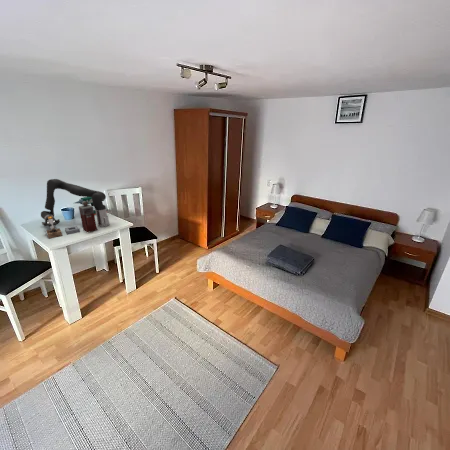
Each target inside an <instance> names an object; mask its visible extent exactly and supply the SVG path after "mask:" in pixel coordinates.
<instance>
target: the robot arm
mask: <svg viewBox="0 0 450 450" xmlns="http://www.w3.org/2000/svg"><path fill="white" fill-rule="evenodd" d="M55 190H63V191H66V192H68V193H70V194H71V195H74V196H77V197H82V198H83V197H92V201H93V205H94V206H93V208H94V210H95V211H96V215H95V216H96V220H97V222H96V223H97V226H98V227H99V228H106V227H109V226H110V220H109V215H108V211H107V207H106V205H105V204H104V203H103V202H105V200H106V199H107V196H106V194H105V193H104V192H102V191H99V190H93V189H90V188H87V187H83V186H80V185H76V184H72V183H69V182H67V181H66V182H65V181H63V180H61V179H58V178H51V179H48V180H47V181H46V199H45V204H44V209H45V210H42V211H41V212H40V217H41V218H42V219H43V220H44V221H42V222H41V225H42V226H44V227H47V226H48V228H51V226H50V223H49V220H48V217H49V216H52V217H53V221H54V225H55V227H56V226H57V225H59V224H60V223H61V221H60V220H61V219H56V218H55V212H54V208H55V203H56V200H55V195H54V194H55ZM106 211H107V212H106Z"/></svg>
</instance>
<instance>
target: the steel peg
mask: <svg viewBox="0 0 450 450" xmlns="http://www.w3.org/2000/svg"><path fill="white" fill-rule="evenodd" d="M48 220H49V223H50V226H51V227H50V230H51V231H52V232H56V229H57V228H56V226H55V225H54V221H53V217H52V216H49V217H48Z"/></svg>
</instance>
